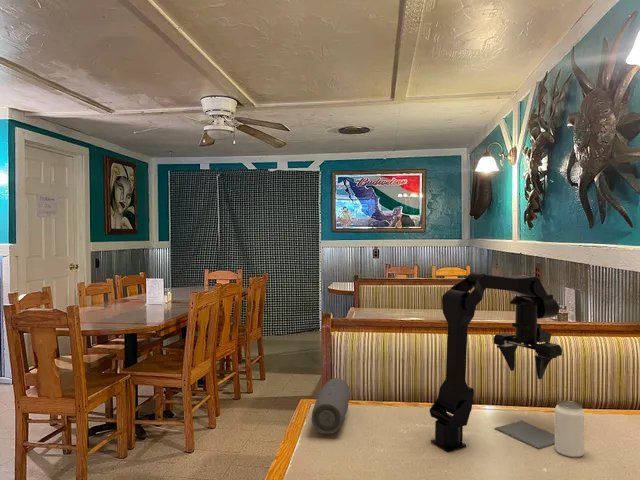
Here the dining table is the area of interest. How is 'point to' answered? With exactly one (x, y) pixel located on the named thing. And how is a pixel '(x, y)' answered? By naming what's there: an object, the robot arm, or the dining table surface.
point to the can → (569, 429)
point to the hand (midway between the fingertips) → (525, 374)
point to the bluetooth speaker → (331, 406)
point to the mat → (528, 434)
